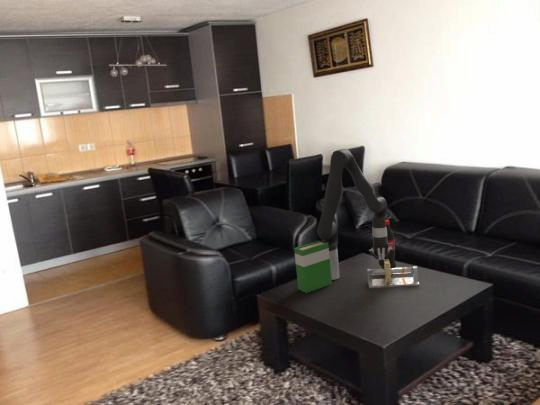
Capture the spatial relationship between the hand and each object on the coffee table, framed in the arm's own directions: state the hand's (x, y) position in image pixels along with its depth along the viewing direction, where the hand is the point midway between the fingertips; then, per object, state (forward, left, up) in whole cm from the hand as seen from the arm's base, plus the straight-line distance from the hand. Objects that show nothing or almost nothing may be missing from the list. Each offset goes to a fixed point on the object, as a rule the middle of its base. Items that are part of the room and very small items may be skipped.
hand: (381, 265), depth 271 cm
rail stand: (+5, 0, -10) cm, 12 cm away
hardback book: (-37, +1, -11) cm, 38 cm away
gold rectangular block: (+3, 0, -8) cm, 9 cm away
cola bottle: (+5, +20, -10) cm, 23 cm away
